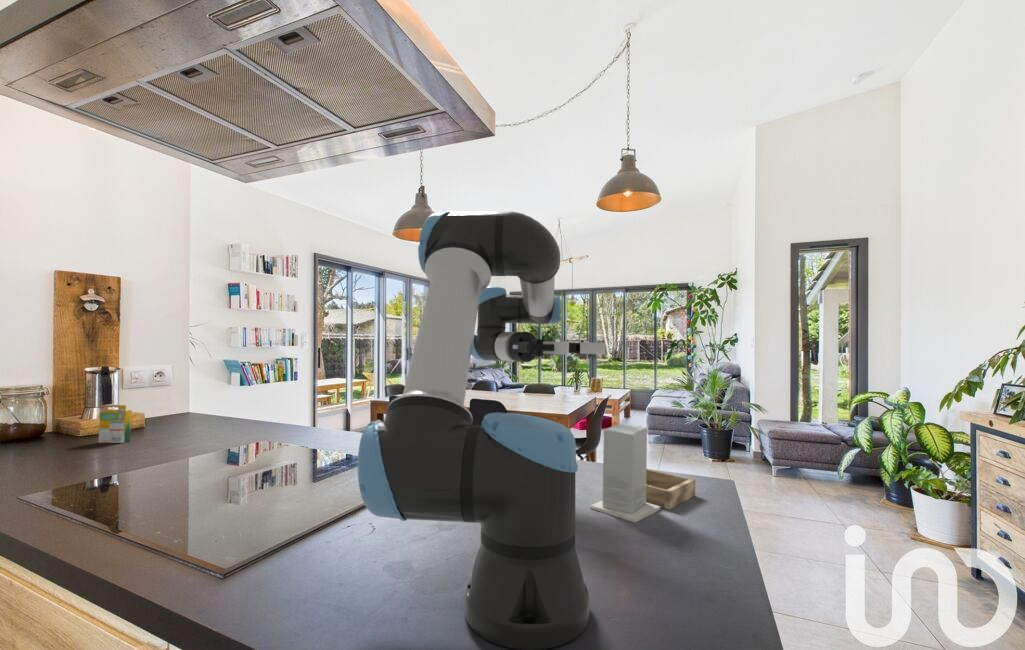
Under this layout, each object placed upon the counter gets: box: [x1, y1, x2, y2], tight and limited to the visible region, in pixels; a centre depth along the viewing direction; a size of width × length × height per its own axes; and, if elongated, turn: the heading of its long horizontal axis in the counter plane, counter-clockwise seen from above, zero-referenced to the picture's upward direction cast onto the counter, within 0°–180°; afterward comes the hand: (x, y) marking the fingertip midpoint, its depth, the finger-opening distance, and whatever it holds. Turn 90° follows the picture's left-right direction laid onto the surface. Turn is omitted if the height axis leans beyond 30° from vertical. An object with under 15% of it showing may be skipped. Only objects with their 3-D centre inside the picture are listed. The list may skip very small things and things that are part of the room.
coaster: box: [589, 499, 662, 523], centre depth 91 cm, size 10×10×1 cm
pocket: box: [646, 468, 696, 510], centre depth 100 cm, size 12×12×4 cm
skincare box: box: [602, 423, 648, 514], centre depth 92 cm, size 8×7×16 cm
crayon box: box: [97, 404, 133, 444], centre depth 142 cm, size 7×3×12 cm, turn 97°
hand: (587, 348), depth 99 cm, fingers open, 13 cm apart
